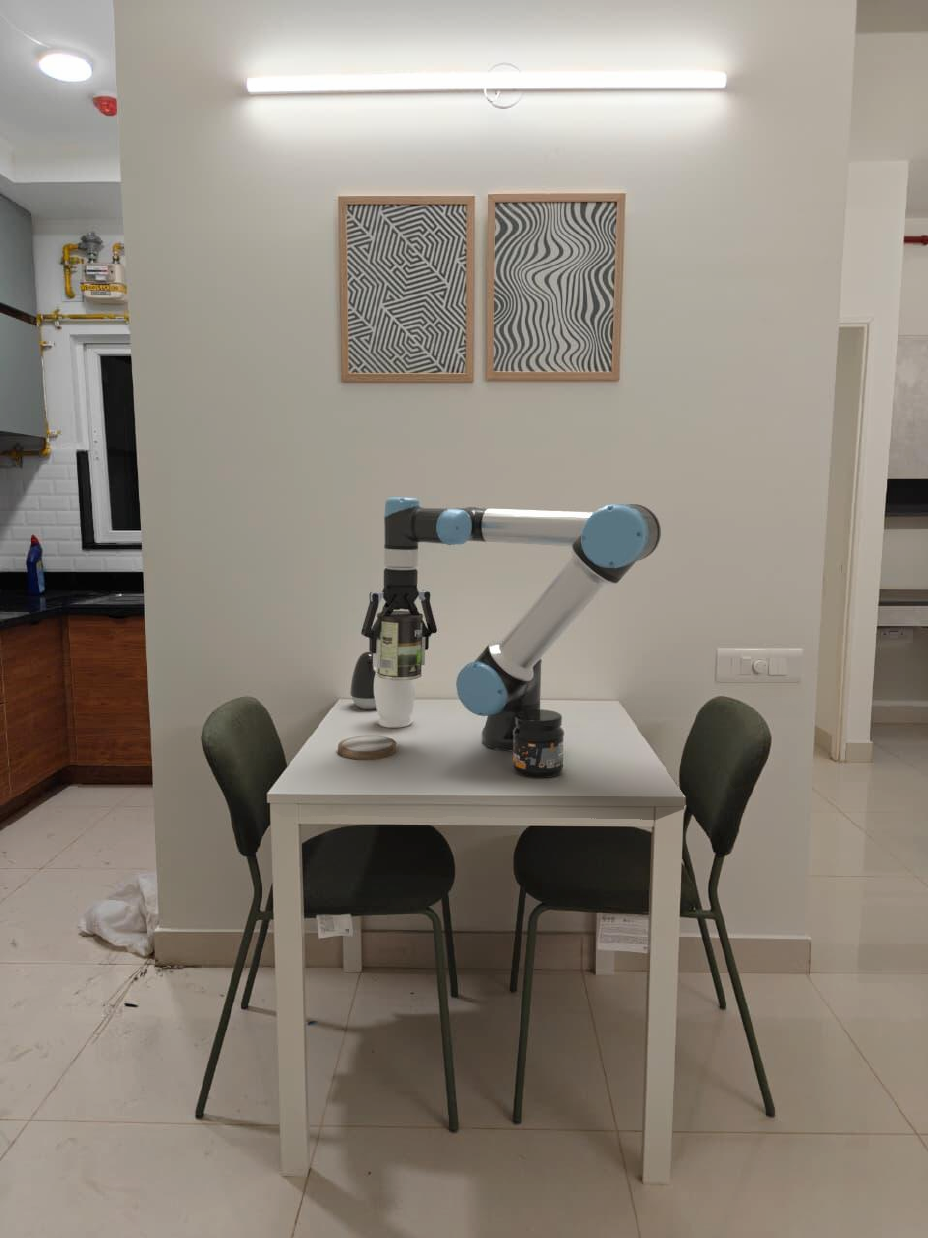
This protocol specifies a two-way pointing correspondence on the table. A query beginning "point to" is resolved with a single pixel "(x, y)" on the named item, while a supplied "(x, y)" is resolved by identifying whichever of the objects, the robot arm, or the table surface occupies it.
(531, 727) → the supplement container
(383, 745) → the thin brown ring
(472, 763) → the table surface
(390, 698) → the jar
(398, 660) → the coffee can
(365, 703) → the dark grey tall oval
